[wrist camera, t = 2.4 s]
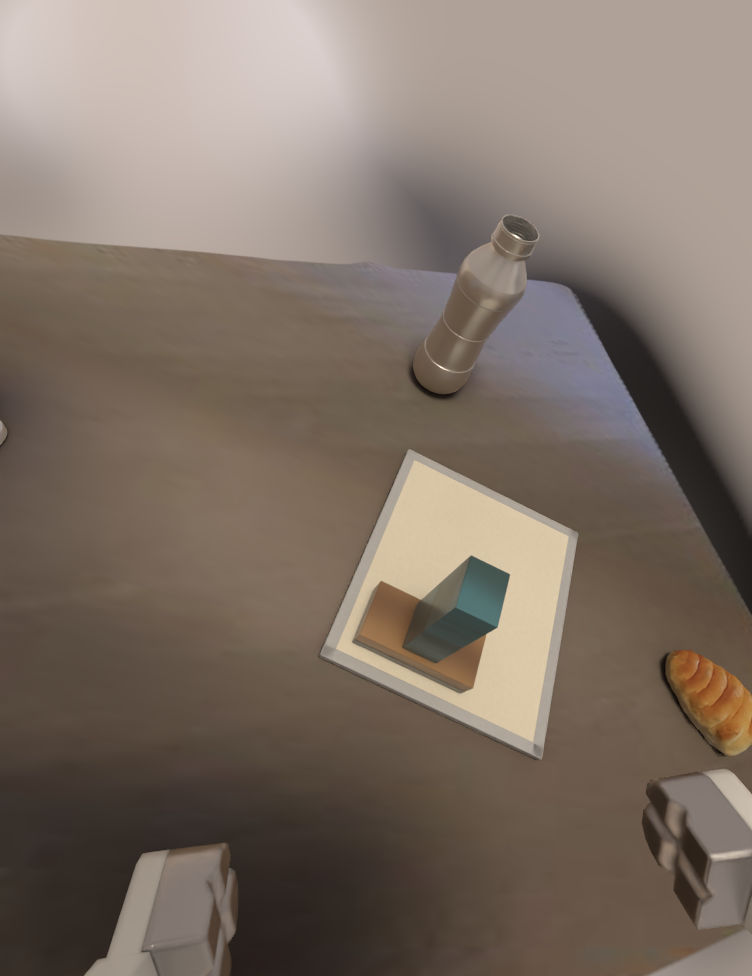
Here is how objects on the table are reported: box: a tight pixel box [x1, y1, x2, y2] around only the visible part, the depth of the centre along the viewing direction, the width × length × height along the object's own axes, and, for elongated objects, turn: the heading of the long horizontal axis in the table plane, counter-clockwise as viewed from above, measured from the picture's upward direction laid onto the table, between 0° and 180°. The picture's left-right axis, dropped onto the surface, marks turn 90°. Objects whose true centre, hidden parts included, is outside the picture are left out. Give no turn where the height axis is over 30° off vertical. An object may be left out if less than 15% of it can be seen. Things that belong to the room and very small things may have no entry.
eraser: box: [352, 555, 510, 694], centre depth 40 cm, size 5×10×13 cm, turn 69°
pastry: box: [665, 650, 752, 756], centre depth 50 cm, size 9×7×4 cm
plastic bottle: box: [413, 214, 539, 394], centre depth 54 cm, size 6×7×20 cm
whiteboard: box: [318, 449, 578, 760], centre depth 50 cm, size 23×20×1 cm
